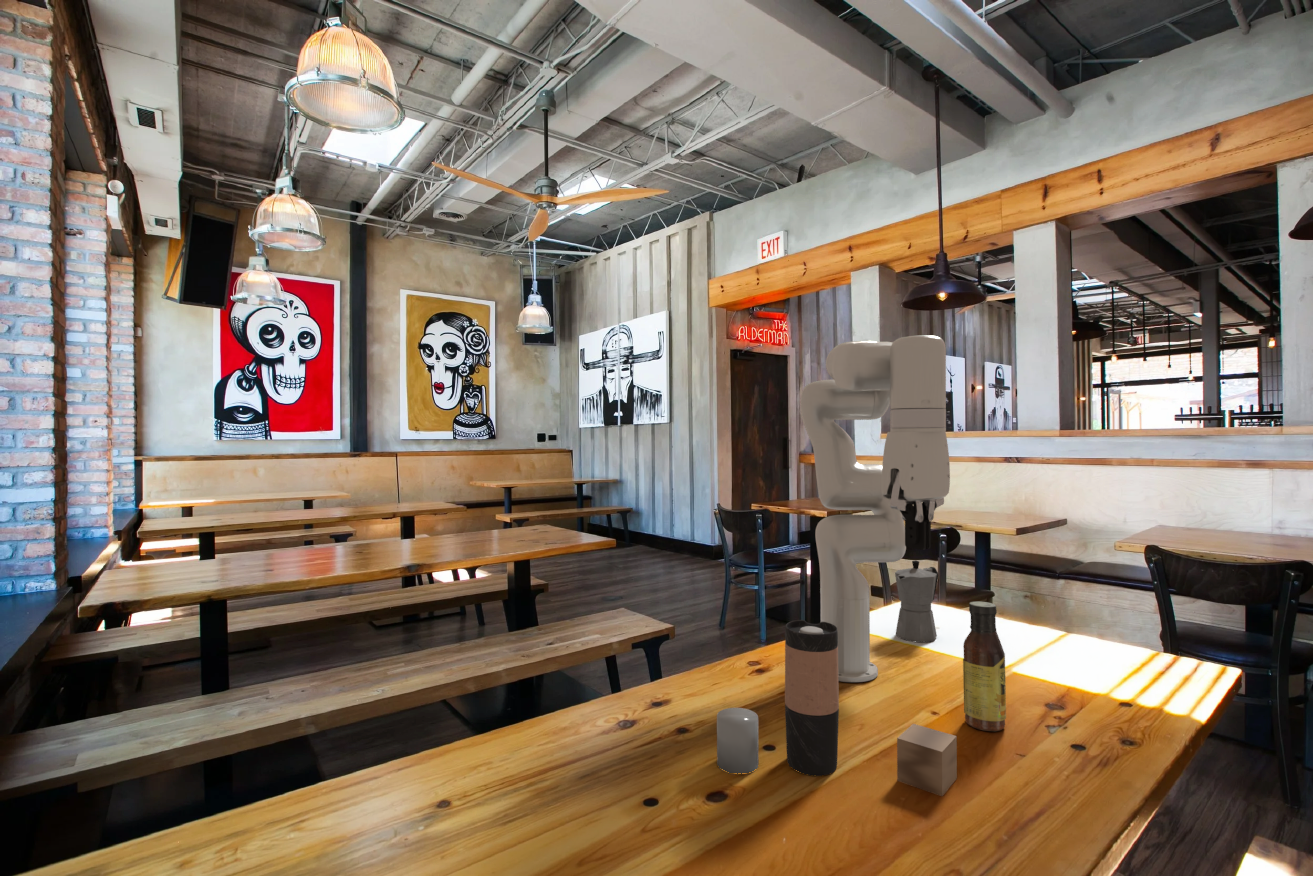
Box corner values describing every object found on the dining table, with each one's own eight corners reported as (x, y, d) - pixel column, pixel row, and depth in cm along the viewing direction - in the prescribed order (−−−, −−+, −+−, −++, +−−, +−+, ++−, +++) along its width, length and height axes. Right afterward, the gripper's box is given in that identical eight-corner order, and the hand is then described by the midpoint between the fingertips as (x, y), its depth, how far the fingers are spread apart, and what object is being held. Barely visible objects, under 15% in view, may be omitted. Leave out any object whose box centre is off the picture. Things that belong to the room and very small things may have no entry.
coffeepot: (917, 647, 146) (917, 567, 146) (881, 636, 154) (881, 560, 154) (955, 634, 155) (955, 559, 155) (919, 625, 163) (919, 553, 163)
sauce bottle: (1011, 735, 104) (1011, 610, 103) (969, 732, 105) (968, 608, 105) (998, 717, 110) (998, 600, 110) (958, 714, 111) (958, 598, 111)
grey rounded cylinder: (708, 761, 96) (708, 714, 96) (739, 750, 99) (739, 704, 99) (735, 779, 91) (735, 729, 91) (767, 767, 94) (766, 718, 94)
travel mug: (809, 782, 90) (808, 637, 90) (774, 758, 97) (773, 623, 97) (850, 769, 93) (849, 630, 93) (814, 746, 100) (813, 616, 100)
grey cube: (897, 781, 90) (897, 738, 90) (913, 764, 95) (913, 723, 95) (942, 797, 86) (942, 752, 86) (956, 779, 91) (956, 736, 91)
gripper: (927, 422, 102) (927, 539, 102) (861, 422, 94) (862, 549, 94) (972, 421, 95) (972, 546, 96) (906, 421, 88) (906, 557, 88)
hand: (917, 547), depth 95 cm, fingers closed
